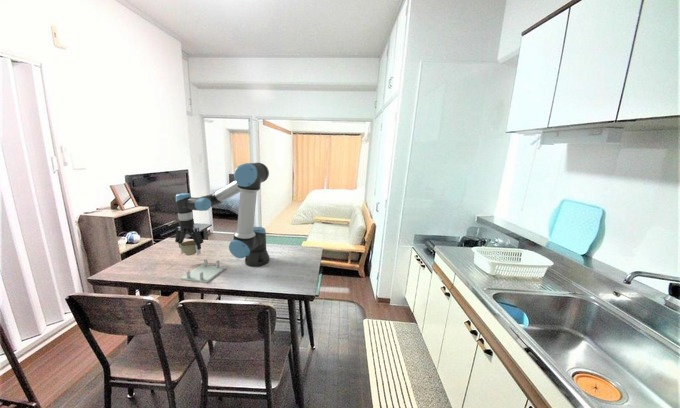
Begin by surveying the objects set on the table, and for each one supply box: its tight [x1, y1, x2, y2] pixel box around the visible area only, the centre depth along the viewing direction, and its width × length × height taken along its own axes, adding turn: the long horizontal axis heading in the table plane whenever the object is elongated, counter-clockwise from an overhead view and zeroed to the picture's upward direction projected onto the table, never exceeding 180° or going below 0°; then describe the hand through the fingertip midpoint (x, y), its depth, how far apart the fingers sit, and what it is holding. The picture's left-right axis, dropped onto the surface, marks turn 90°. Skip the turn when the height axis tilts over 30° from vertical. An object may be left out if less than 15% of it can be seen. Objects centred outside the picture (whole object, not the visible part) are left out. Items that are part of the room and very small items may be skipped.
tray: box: [180, 259, 226, 284], centre depth 137 cm, size 16×16×5 cm
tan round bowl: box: [180, 239, 196, 256], centre depth 146 cm, size 10×10×7 cm
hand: (191, 253), depth 147 cm, fingers closed on tan round bowl, 10 cm apart
